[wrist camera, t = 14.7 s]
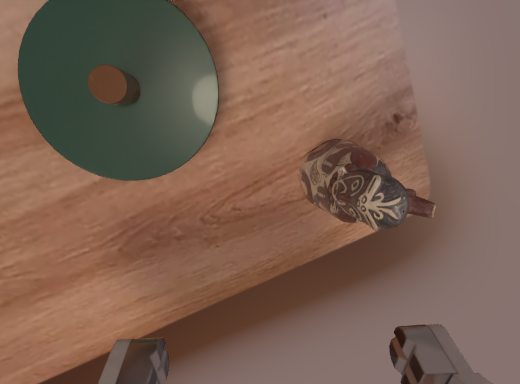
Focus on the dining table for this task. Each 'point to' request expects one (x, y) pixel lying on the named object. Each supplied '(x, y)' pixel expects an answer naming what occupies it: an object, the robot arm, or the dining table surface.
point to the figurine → (358, 187)
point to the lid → (119, 85)
